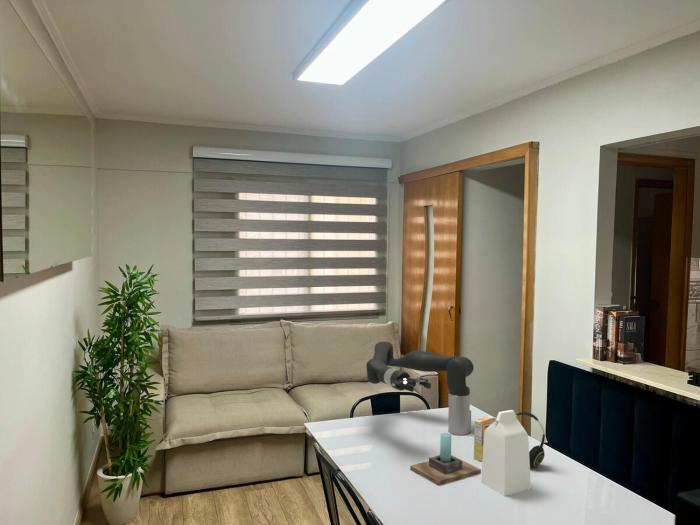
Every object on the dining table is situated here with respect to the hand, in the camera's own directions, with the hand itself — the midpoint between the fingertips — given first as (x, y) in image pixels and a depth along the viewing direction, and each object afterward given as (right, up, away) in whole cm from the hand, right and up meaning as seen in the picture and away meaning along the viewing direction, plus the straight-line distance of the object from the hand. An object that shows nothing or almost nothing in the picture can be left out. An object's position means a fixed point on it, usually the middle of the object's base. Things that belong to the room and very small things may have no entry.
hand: (421, 387), depth 216 cm
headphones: (+40, -28, -4) cm, 49 cm away
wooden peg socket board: (+7, -28, -11) cm, 31 cm away
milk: (+26, -29, -23) cm, 45 cm away
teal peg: (+7, -27, -11) cm, 30 cm away
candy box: (+25, -28, +2) cm, 38 cm away
